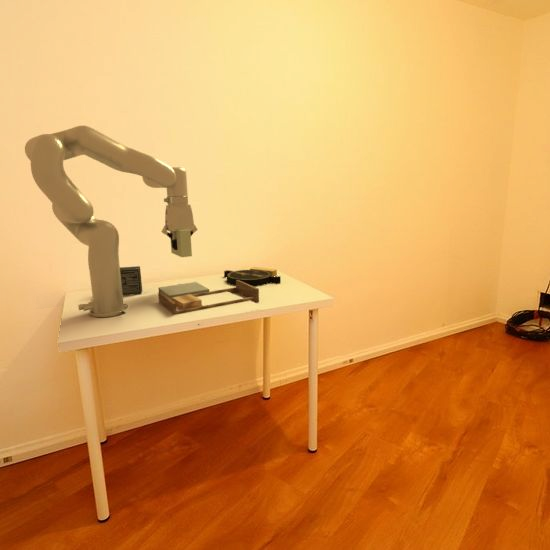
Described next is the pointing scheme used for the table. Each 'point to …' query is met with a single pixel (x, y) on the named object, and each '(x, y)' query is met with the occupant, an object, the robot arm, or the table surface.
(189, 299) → the upper offcut
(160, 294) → the frame
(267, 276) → the decorative sign
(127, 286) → the small box
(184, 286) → the grey board
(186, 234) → the pale green block
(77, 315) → the table surface
